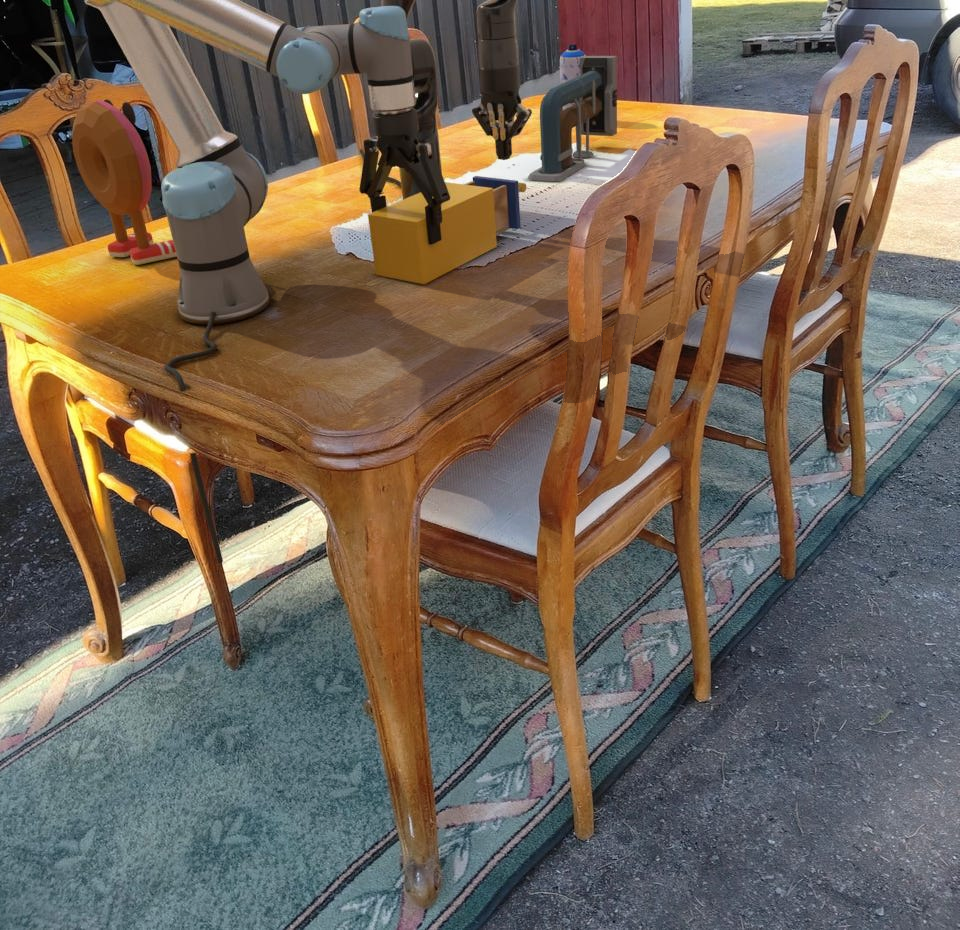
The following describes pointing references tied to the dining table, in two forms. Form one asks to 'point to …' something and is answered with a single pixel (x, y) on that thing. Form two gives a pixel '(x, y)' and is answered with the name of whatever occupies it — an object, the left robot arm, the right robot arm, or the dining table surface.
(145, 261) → the toy
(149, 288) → the dining table surface
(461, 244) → the yellow rectangular block
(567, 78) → the aerosol can
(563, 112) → the clamp
